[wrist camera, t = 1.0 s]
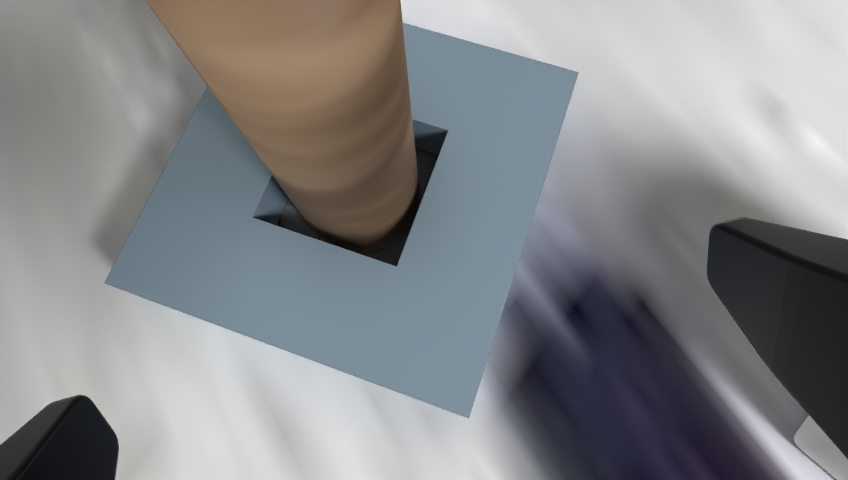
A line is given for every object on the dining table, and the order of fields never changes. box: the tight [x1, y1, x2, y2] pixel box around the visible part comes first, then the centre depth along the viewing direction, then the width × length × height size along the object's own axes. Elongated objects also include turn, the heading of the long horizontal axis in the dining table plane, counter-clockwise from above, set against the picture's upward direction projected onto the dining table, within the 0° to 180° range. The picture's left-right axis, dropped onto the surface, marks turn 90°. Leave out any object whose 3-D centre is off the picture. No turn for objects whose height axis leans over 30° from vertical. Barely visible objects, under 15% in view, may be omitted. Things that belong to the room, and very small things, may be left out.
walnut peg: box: [146, 0, 420, 253], centre depth 17 cm, size 5×5×14 cm
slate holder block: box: [105, 23, 579, 418], centre depth 22 cm, size 14×14×2 cm
